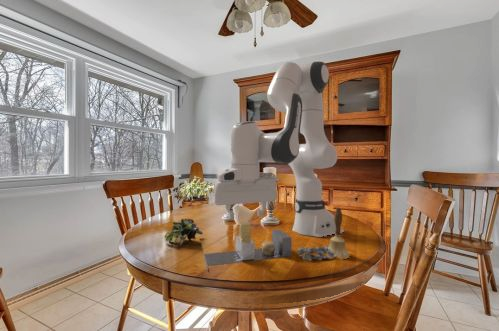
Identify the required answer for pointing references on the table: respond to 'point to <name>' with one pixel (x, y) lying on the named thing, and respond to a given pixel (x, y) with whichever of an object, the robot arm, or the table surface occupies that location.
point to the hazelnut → (268, 248)
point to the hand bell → (338, 238)
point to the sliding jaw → (245, 242)
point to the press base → (281, 250)
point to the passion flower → (183, 230)
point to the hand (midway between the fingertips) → (246, 217)
